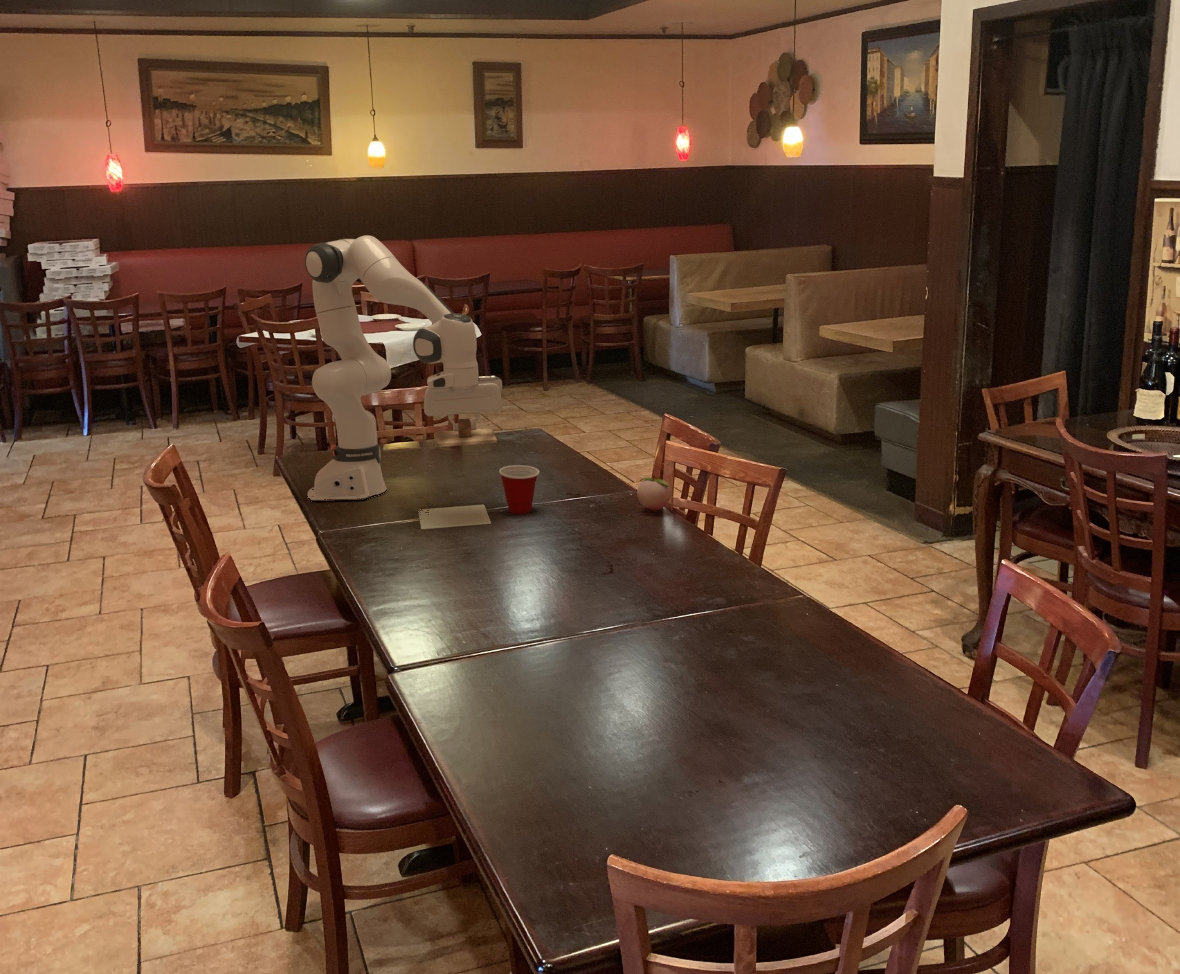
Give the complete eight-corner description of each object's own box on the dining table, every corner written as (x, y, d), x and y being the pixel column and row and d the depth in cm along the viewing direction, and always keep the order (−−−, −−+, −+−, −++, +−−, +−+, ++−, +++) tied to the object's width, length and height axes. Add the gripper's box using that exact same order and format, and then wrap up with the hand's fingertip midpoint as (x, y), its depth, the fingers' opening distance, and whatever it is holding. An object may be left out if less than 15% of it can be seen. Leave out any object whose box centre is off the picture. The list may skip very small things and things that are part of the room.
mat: (421, 531, 284) (421, 529, 284) (418, 511, 301) (418, 509, 301) (491, 525, 287) (491, 523, 287) (484, 506, 304) (484, 504, 304)
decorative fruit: (631, 513, 294) (630, 477, 291) (644, 505, 301) (643, 470, 298) (663, 518, 290) (663, 481, 287) (676, 509, 297) (675, 473, 294)
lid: (438, 446, 280) (436, 428, 279) (435, 434, 295) (433, 417, 293) (497, 442, 283) (495, 424, 282) (491, 430, 297) (490, 413, 296)
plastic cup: (523, 521, 290) (521, 476, 287) (492, 514, 296) (490, 471, 293) (549, 511, 298) (547, 467, 295) (518, 504, 305) (517, 462, 302)
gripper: (500, 373, 289) (503, 425, 293) (421, 378, 286) (425, 430, 290) (503, 377, 283) (506, 429, 287) (422, 382, 280) (426, 435, 284)
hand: (464, 430), depth 288 cm, fingers closed on lid, 3 cm apart
